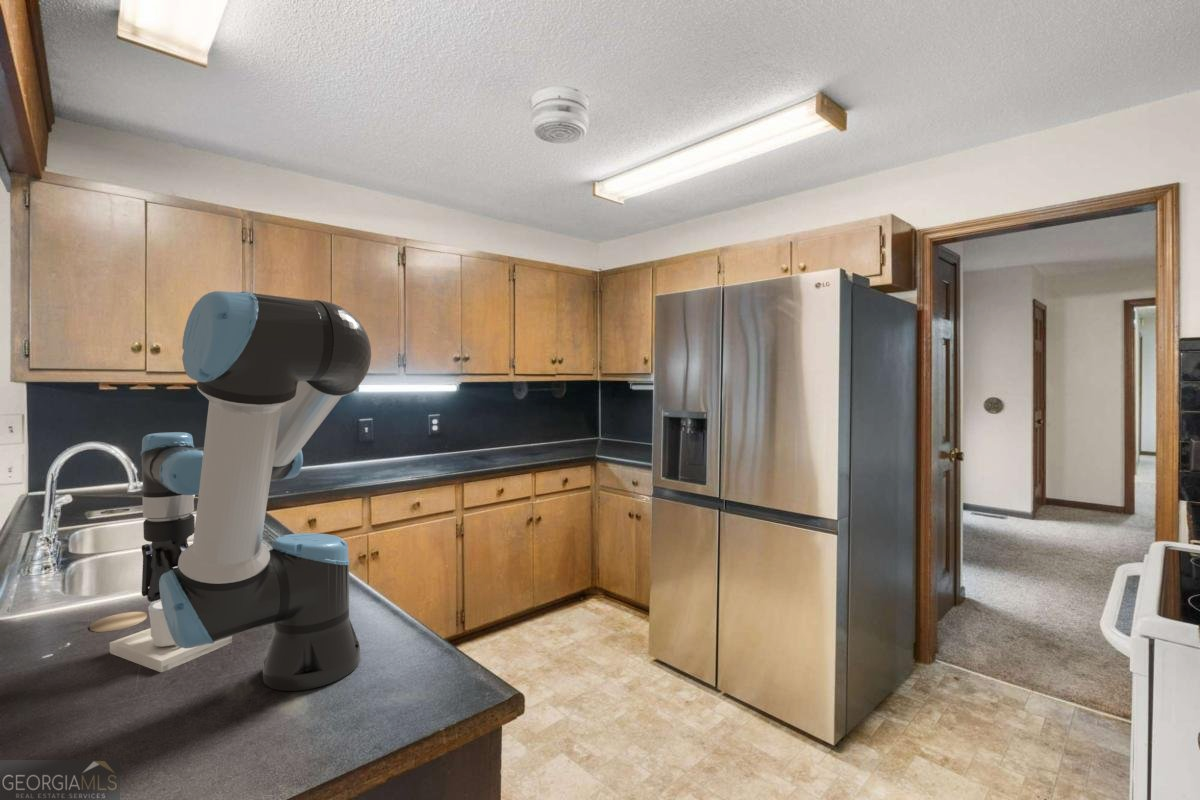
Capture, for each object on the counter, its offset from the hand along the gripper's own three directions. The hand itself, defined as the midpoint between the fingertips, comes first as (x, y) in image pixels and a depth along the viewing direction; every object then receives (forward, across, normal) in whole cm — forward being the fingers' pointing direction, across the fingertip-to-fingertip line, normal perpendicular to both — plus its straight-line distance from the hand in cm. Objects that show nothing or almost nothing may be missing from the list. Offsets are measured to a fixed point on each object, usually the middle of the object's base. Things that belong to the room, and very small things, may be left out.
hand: (171, 637), depth 105 cm
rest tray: (+2, 0, 0) cm, 2 cm away
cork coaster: (+2, +22, -2) cm, 22 cm away
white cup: (+1, 0, 0) cm, 1 cm away
